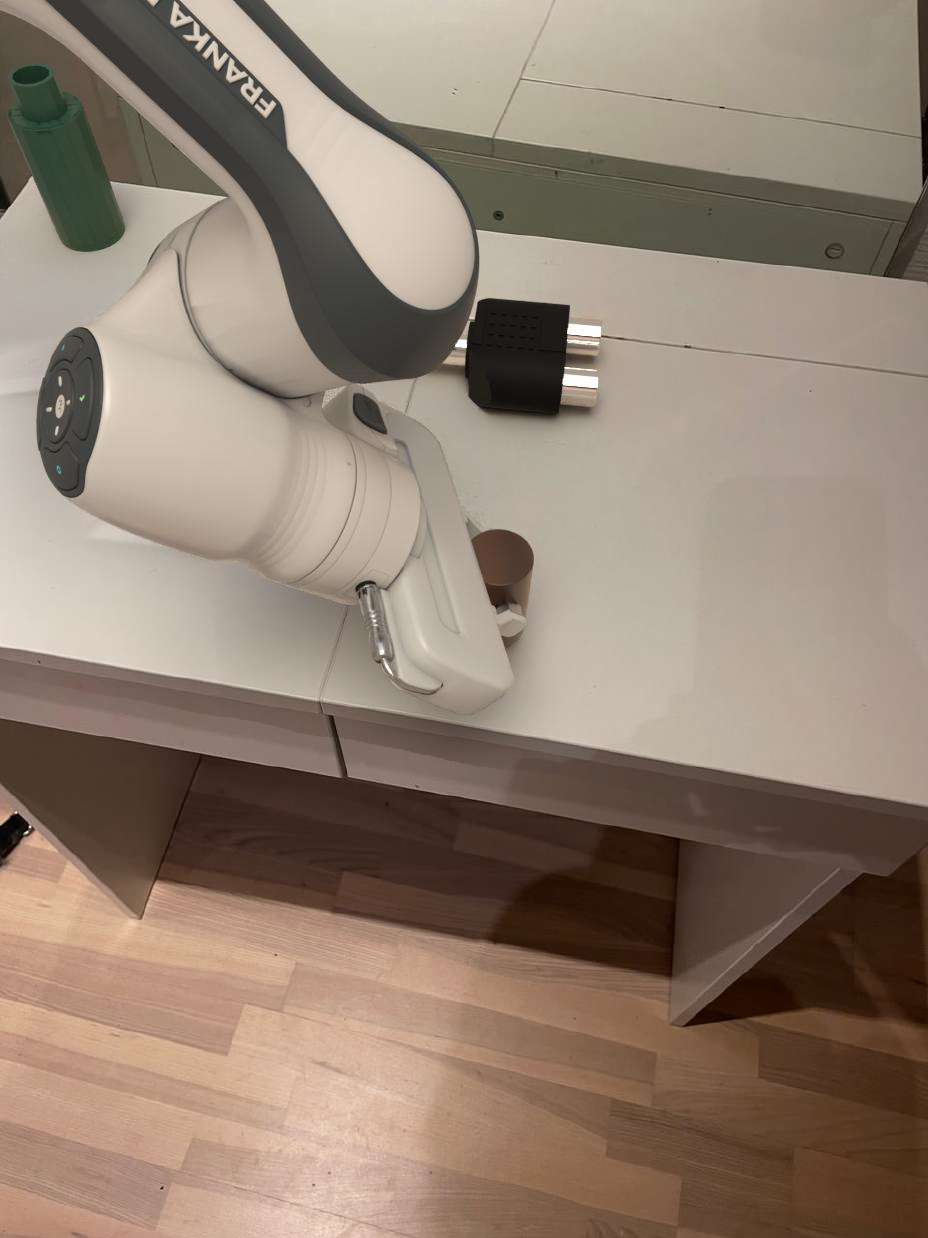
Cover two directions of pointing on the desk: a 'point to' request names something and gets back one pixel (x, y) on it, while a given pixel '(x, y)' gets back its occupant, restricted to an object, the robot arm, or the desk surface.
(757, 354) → the desk surface
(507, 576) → the brown cylinder
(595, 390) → the audio adapter
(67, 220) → the bottle
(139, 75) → the robot arm
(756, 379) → the desk surface
